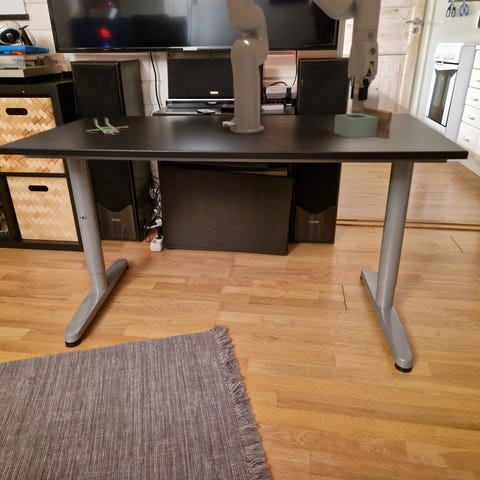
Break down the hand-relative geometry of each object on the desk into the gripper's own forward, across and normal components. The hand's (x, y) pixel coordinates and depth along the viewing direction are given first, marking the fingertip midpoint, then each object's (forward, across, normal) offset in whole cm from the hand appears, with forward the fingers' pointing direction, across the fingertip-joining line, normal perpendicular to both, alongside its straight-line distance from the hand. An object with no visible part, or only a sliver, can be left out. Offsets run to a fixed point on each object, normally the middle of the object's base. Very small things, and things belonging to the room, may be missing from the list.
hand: (358, 99), depth 132 cm
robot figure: (+12, +53, +79) cm, 96 cm away
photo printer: (+13, +23, -19) cm, 32 cm away
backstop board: (+12, 0, +3) cm, 13 cm away
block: (+11, 0, 0) cm, 11 cm away
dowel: (+4, 0, 0) cm, 4 cm away
